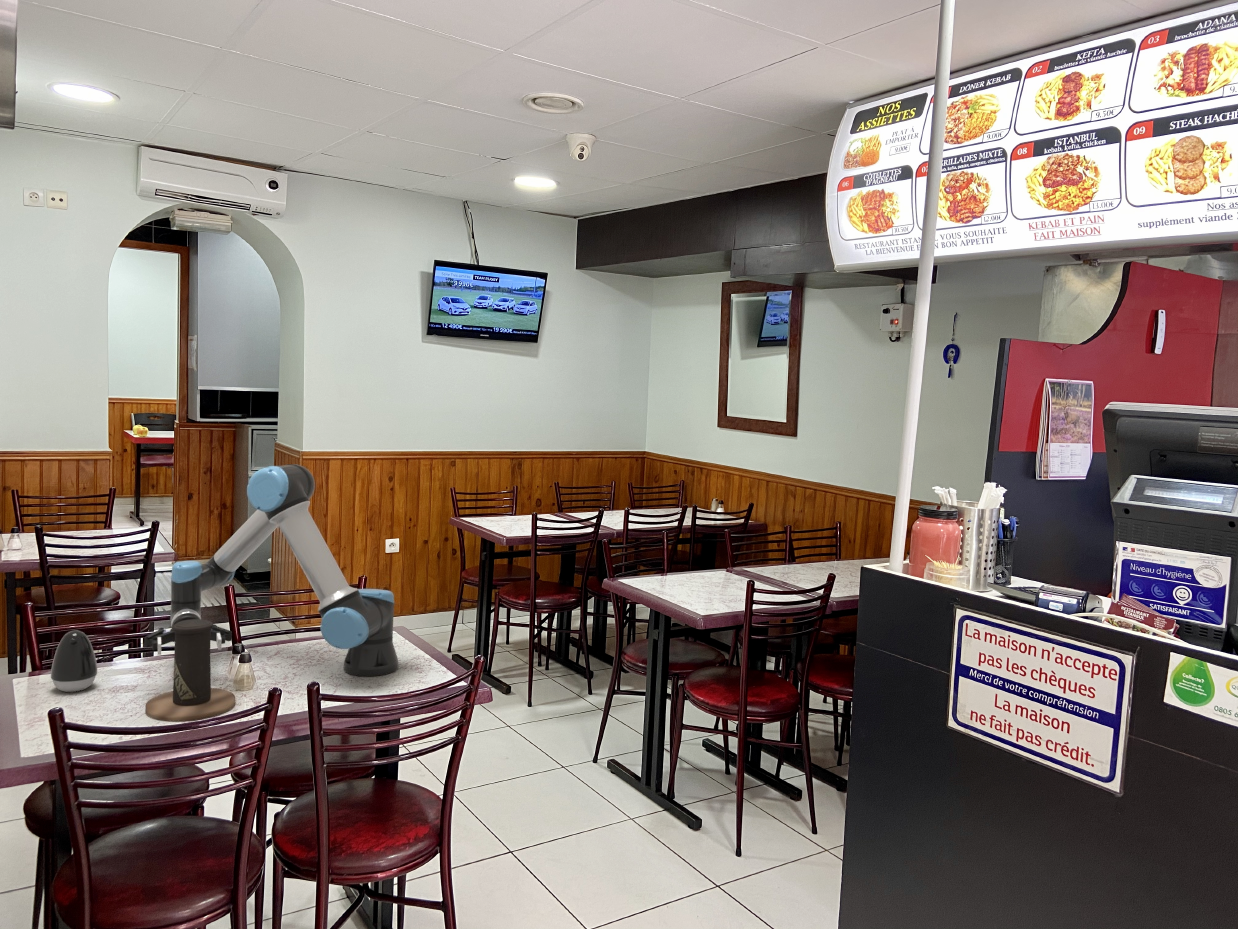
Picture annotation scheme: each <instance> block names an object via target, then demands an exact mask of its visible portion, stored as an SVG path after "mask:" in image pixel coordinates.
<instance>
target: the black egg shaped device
mask: <svg viewBox="0 0 1238 929" xmlns="http://www.w3.org/2000/svg"><path fill="white" fill-rule="evenodd" d="M97 674H98V664H97V658H96V655H95V651H94V648H93V645H92V643H91V641H90V638H89V637H88V636H87V634H85V632H83V631H81V630H77V629H76V630H70V631H68V632H66V633H65V634H64V635H63V637H62V638H61V640H60V642H59V643H58V646H57V647H56V650H55V654H54V656H53V661H52V665H51V670H50V679H51V680H52V682H53V685H54V686H55V687H56V689H57V690H59V691H61V692H63V693H64V692H65V693H77V692H80V690H81V691H84V690H86V689H87V688H89V687H90V686H92V684H93V683H94V681H95V679H96V677H97ZM76 691H77V692H76Z"/></svg>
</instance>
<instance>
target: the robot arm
mask: <svg viewBox="0 0 1238 929" xmlns="http://www.w3.org/2000/svg"><path fill="white" fill-rule="evenodd" d="M315 488H316V481H315V478H314V476H313V474H312V472H311V471H310V470H309V468H307V467H305V466H303V465H300V464H296V463H293V464H292V463H290V464H285V465H284V464H283V465H270V466H266V467H265V468H261V469H259V470H257V471H256V472H254V473H253V474H252V475H251V477H250V478H249V480H248V484H247V488H246V495H247V498H248V501H249V503H250V505H252V507H253V508H255V509H256V510H255V511H254V513H252V514H251V516H250V517H248V518H247V520H246V521H245V522H244V523H243V524H242V525H241V526H240V527H239V528H238V529H237V530H236V531H235V533H233V535H232V536H230V538H228V539H227V541H226V542H225V543H223V545H222V546H221V547H220V548H218V550H217V551H216V552H215V553H214V554H213V556H211V557H210V559H209V560H208V561H206V562H204V563H201V562H200V561H196V560H184V561H177V562H175V563H173V564H172V566H171V576H170V583H171V584H170V586H171V587H170V594H171V595H170V598H171V599H170V613H169V614H170V617H169V620H170V624H171V627H170V629H169V630H167V629H166V628H164V627H158V630H156V631H154V632H152V633H151V634H150V633H149V634H148V635H146V636H145V637H144V638H143V639H144V640H143V641H144V643H143V644H144V648H149V647H152V648H151V649H152V651H157V656H159V655H162V646H164V645H167V644H170V643H175V632H174V631H173V626H174V625H175V624H176V623H178V622H180V621H184V620H191V619H202V616H201V614H202V613H201V609H202V608H201V607H202V592H205V591H207V590H208V591H209V590H210V589H213V588H214V589H215V588H218V587H221V586H224V585H226V584H228V583H229V582H231V581H232V580H233V579H234V576H235V574H236V570H237V569H239V567H240V566H241V565H242V564H243V563H244V562H245V561H246V560H247V559H249V557H250V556H252V554H253V553H254V552H255V551H256V550H257V549H258V548H259V547H260V546H261V545H262V544H263V543H264V542H265V541H266V540H267V539H268V538H269V536H271V534H272V533H273V532H274V531H275V530H276V529H277V528H278V527H279V529H280V531H281V533H282V534H283V537H284V538H285V540H286V542H287V543H288V546H289V547H290V549H291V551H292V553H293V554H294V556H295V558H296V561H298V564H299V566H300V568H301V570H302V571H303V573H304V575H305V576H306V579H307V580H308V583H309V585H310V586H311V587H312V589H313V592H314V593H315V595H316V597H317V599H318V601H319V606H318V608H317V611H318V613H319V615H320V617H321V621H320V622H321V623H320V626H319V628H320V633H321V635H322V637H323V639H324V641H325V642H327V644H329V645H330V646H332V647H333V648H337V649H338V650H339V649H340V650H347V652H346V655H345V658H344V660H343V671H344V672H345V673H347V674H350V675H352V676H358V677H359V676H360V677H377V676H385V675H389V674H392V673H394V672H396V671H397V670H398V669H399V658H398V656H397V652H396V649H395V645H394V642H393V641H394V640H393V637H394V636H393V634H394V613H395V599H394V598H395V595H394V593H393V592H392V591H391V590H386V589H377V588H356V587H352V586H350V585H349V583H348V582H347V579H346V577H345V576H344V573H343V572H342V570H341V568H340V567H339V564H338V562H337V560H336V559H335V557H334V556H333V553H332V552H331V550H330V548H329V546H328V545H327V542H326V541H325V539H324V537H323V535H322V533H321V532H320V529H319V527H318V526H317V524H316V523H315V521H314V518H313V517H312V515H311V513H310V511H309V508H310V504H311V501H310V499H311V498H312V497H313V495H314V493H315ZM232 633H233V632H232V631H231V630H228V629H226V628H224V627H221V626H218V625H217V624H214V623H213V628H212V630H211V638H210V642H216V647H217V650H218V651H221V650H222V645H224V644H226V642H231V641H232V636H233V634H232Z"/></svg>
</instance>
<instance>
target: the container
mask: <svg viewBox="0 0 1238 929" xmlns="http://www.w3.org/2000/svg"><path fill="white" fill-rule="evenodd" d="M213 624H214V623H213V622H212V621H210V620H209V619H204V618H201V619H191V620H184V621H180V622H178V623H176V624H175V625H174V626H173V631H174V632H175V642H174V655H173V656H174V657H173V679H172V682H173V683H172V684H173V685H172V691H173V703H175V704H177V705H184V706H189V705H198V704H203V703H205V702H208V701H209V700H210V699H211V688H212V684H211V683H212V682H211V681H212V680H211V676H212V675H211V673H212V672H211V671H212V670H211V640H210V638H211V630H212V628H213Z"/></svg>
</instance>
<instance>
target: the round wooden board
mask: <svg viewBox="0 0 1238 929" xmlns="http://www.w3.org/2000/svg"><path fill="white" fill-rule="evenodd" d="M235 706H236V694H234V693H233V692H232V691H230V690H227V689H223V688H215V687H211V699H210V700H209V701H208V702H205V703H203V704H198V705H189V706H184V705H177V704H175V703H173V690H172V691H171V690H170V691H167V692H163V693H161V694H158V695H156V696H154V697H152V698H150V699H148V700H147V701H146V703H145V709H144V710H145V712H144V713H145V715H146V716H147V717H149V718H150V719H151V718H152V719H153V720H157V721H164V722H191V721H192V722H193V721H199V720H205V719H210V718H213V717H217V716H221V715H223V714H224V713H227V712H229V711H231V710H232V709H233V708H234V707H235Z"/></svg>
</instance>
